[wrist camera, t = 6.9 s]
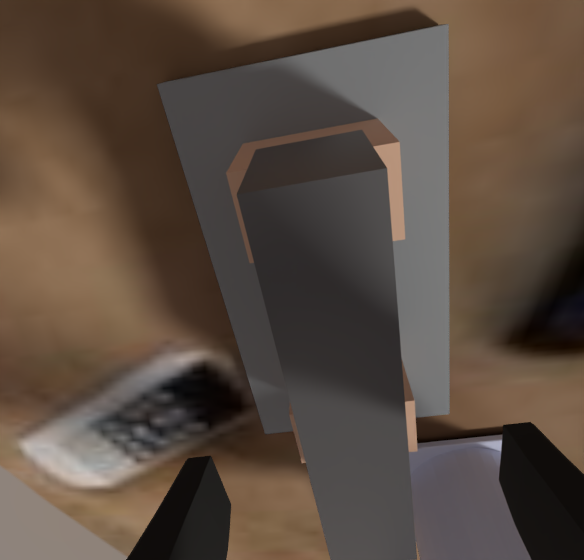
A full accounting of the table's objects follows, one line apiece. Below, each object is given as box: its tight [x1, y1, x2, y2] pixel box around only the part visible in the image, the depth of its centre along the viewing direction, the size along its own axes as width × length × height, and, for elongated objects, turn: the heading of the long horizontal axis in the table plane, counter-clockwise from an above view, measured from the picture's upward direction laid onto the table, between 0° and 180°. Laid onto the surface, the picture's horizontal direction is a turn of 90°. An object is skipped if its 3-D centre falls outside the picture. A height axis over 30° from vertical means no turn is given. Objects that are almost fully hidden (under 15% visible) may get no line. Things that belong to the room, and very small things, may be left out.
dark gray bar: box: [237, 130, 417, 560], centre depth 13 cm, size 14×3×4 cm, turn 11°
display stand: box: [157, 24, 449, 463], centre depth 17 cm, size 18×10×5 cm, turn 10°
